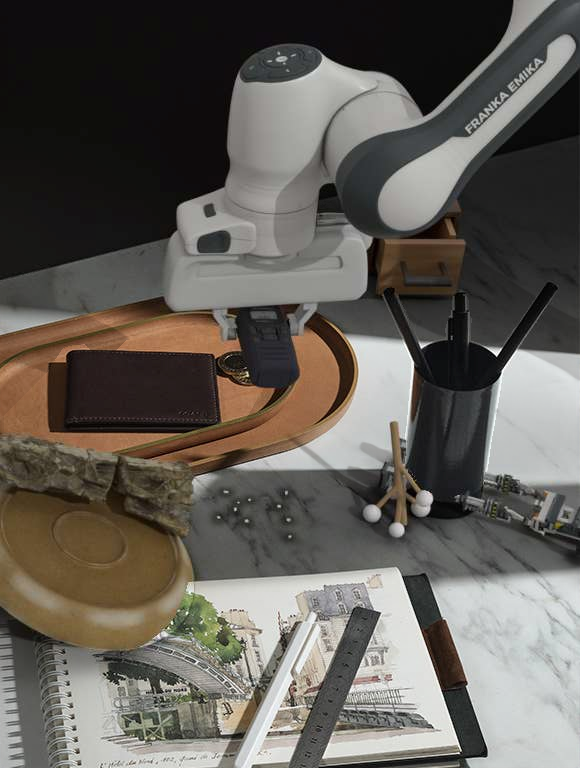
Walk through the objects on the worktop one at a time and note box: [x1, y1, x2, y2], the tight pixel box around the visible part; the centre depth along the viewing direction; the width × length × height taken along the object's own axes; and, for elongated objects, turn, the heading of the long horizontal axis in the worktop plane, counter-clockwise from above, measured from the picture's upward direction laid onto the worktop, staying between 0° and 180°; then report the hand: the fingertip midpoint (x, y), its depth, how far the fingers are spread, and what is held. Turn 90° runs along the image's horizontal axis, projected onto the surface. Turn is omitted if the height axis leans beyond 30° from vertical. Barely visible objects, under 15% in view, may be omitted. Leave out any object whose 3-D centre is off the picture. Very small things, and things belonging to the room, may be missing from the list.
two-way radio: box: [235, 305, 301, 389], centre depth 130 cm, size 6×4×15 cm
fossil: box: [0, 433, 196, 539], centre depth 128 cm, size 22×7×10 cm
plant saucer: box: [0, 481, 195, 652], centre depth 127 cm, size 24×24×3 cm
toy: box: [378, 437, 580, 557], centre depth 136 cm, size 8×7×30 cm
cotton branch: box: [362, 420, 434, 538], centre depth 136 cm, size 7×6×12 cm
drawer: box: [373, 217, 467, 296], centre depth 170 cm, size 19×10×8 cm, turn 0°
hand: (260, 335), depth 130 cm, fingers closed on two-way radio, 5 cm apart
